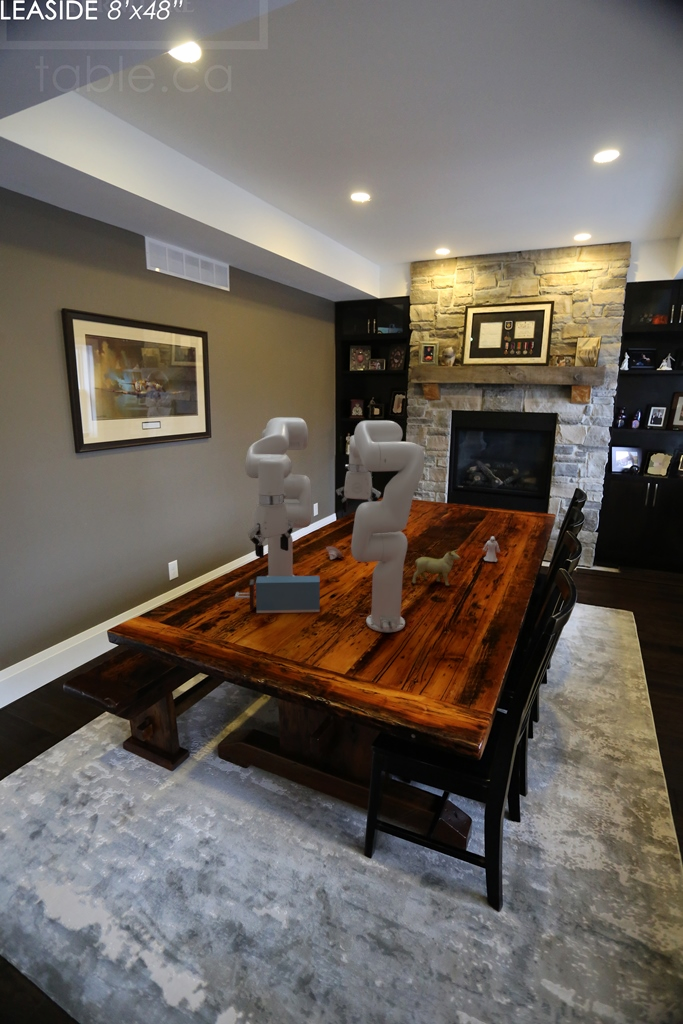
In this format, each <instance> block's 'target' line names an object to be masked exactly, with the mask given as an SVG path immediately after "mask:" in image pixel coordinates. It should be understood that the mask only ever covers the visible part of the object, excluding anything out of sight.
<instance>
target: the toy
mask: <svg viewBox="0 0 683 1024" xmlns="http://www.w3.org/2000/svg"><path fill="white" fill-rule="evenodd" d="M457 552H459V549H455V550H452V551H447V552H446V553H445V554H444V556H443V557H442V558H433V557H428V556H421V557H418V558H417V559H416V560H415V567H416V571H414V572H413V577H412V582H411V583H412V584H413V585H417V581H416V580H417V578H418V576H419V575H420V576H421V577H422V578H423V580H424V581H427V580H428V577H427V575H426V574H425V573H428V574H431V575H437V577H436V580H435V581H436V582H437V583H441V580H440V579H441V577H442V578H443V580H444V584H445V587H448V588H449V587H451V585H450V583H449V582H448V575H449V574H450V572H451V571H452V568H453V566H454V561H460V560H461V556H459V555H458V554H457Z"/></svg>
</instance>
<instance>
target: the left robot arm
mask: <svg viewBox="0 0 683 1024" xmlns="http://www.w3.org/2000/svg"><path fill="white" fill-rule="evenodd" d="M308 445H309V428H308V425H307V422H306V421H305V419H303V418H301V417H288V416H287V417H285V416H284V417H283V416H282V417H281V416H278V417H273V418H271V419H269V420H268V422H267V423H266V426H265V428H264V429H263V430H262V432H261V438H260V439H259V440H257V441H255V442H253V443H252V444H251V445H250V446H249V448H248V449H247V452H246V457H245V461H244V470H245V473H246V475H247V476H248V477H249V478H251V479H258V480H257V481H258V483H257V484H258V503H257V504H256V506H255V511H254V519H253V520H254V521H253V527H252V528H251V529H250V530H249V531H247V536H248V538H249V540H250V541H251V542H252V544H254V547H255V549H254V550H255V551H254V553H255V557H257V558H260V559H263V558H264V557H265V551H264V550H265V549H264V548H265V547H264V545H263V543H264V541H265V540H266V539H267V567H268V568H267V569H268V571H267V573H268V574H267V576H296V575H295V574H294V566H293V565H294V559H293V558H294V557H293V555H294V554H293V553H294V552H293V549H294V548H293V547H294V546H293V544H294V543H293V542H294V541H293V536H292V533H293V529H299V528H301V529H302V528H304V529H305V528H308V527H309V526H310V525H311V523H312V483H311V479H310V478H309V476H308V475H305V474H294V473H293V464H292V460H291V458H290V457H289V455H288V454H287V451H304V450H305V449H307V447H308ZM285 500H296V501H299V502H286V501H285Z"/></svg>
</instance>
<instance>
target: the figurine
mask: <svg viewBox="0 0 683 1024" xmlns="http://www.w3.org/2000/svg"><path fill="white" fill-rule="evenodd" d="M482 551H483V552H486V554H485V556H484V557H483V560H484V561H485V562H495V563H498V558H497V554H496V553H498V554H499V553H501V550H500V547H499V543H498V541H497V540H496V538H495V536H493V535H492V536H490V539H489V540H487V542H486V543H485V544H484V546H483V548H482Z"/></svg>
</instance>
